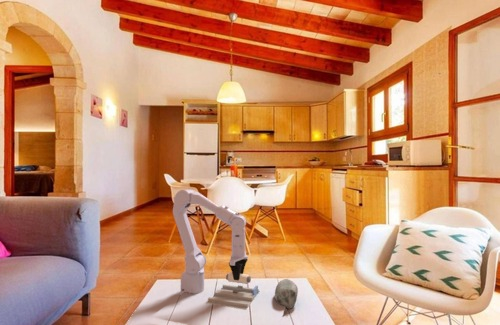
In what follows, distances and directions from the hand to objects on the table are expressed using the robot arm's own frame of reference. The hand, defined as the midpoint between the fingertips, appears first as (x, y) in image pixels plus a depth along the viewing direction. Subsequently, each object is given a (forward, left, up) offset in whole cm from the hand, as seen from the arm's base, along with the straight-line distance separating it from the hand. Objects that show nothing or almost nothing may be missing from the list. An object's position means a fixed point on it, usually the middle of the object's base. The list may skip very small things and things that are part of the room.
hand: (238, 278), depth 124 cm
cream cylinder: (0, 0, -2) cm, 2 cm away
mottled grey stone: (+20, +1, -8) cm, 22 cm away
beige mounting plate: (0, -4, -8) cm, 8 cm away
